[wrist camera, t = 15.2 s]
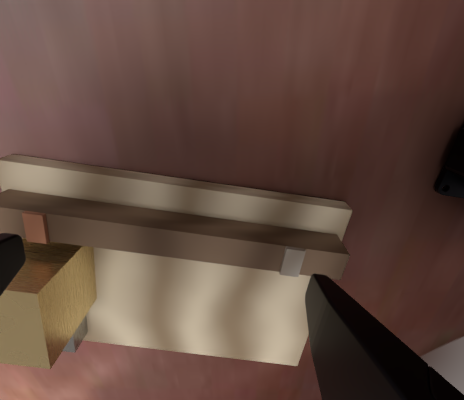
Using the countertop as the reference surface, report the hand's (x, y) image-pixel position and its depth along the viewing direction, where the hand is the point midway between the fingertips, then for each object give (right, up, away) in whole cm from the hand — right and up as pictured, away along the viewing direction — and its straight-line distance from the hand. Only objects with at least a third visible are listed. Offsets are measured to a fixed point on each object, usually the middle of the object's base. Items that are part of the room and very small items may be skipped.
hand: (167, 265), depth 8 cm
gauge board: (-3, -4, +14) cm, 15 cm away
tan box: (-11, -5, +13) cm, 18 cm away
